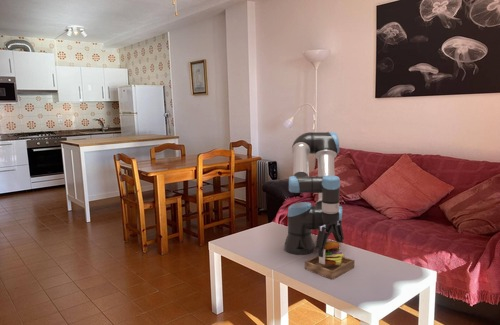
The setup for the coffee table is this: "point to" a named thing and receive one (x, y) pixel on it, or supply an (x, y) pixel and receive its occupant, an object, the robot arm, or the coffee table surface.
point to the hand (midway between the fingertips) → (329, 259)
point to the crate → (329, 267)
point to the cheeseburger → (333, 253)
